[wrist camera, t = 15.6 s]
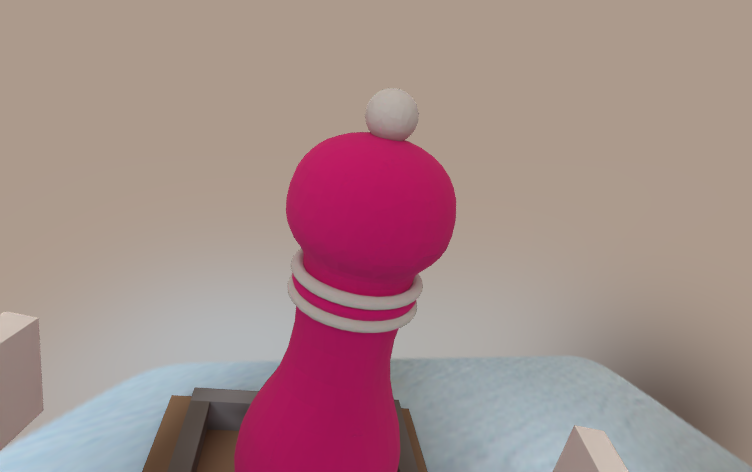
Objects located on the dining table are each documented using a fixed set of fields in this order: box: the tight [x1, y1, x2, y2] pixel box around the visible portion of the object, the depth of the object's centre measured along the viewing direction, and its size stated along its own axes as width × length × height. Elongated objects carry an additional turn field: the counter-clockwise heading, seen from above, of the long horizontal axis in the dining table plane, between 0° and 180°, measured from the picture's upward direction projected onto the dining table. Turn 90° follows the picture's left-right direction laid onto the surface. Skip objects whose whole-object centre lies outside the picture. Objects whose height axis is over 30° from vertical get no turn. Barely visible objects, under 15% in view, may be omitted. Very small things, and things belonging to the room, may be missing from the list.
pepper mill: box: [234, 88, 456, 472], centre depth 18 cm, size 7×7×20 cm
